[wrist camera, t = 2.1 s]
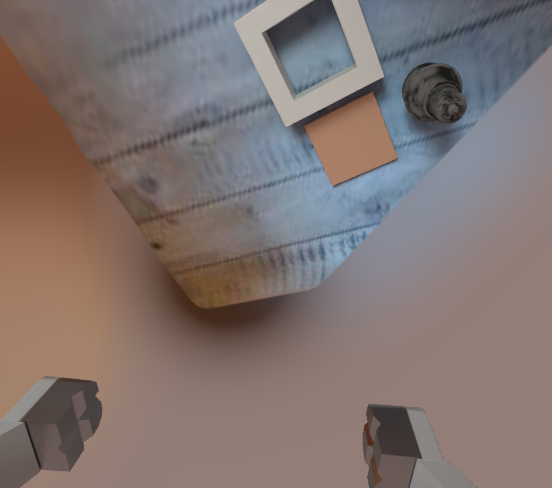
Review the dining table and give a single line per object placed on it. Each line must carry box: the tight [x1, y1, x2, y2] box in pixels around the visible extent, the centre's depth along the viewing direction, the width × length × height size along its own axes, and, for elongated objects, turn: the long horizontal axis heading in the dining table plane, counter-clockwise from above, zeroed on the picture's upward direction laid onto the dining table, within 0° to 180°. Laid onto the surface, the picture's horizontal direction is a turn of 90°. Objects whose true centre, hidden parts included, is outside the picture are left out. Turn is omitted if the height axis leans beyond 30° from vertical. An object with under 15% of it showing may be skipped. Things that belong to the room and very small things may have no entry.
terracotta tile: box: [304, 91, 397, 186], centre depth 45 cm, size 9×9×1 cm
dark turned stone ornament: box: [402, 63, 467, 123], centre depth 36 cm, size 6×6×12 cm
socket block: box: [233, 0, 384, 127], centre depth 39 cm, size 12×12×4 cm
